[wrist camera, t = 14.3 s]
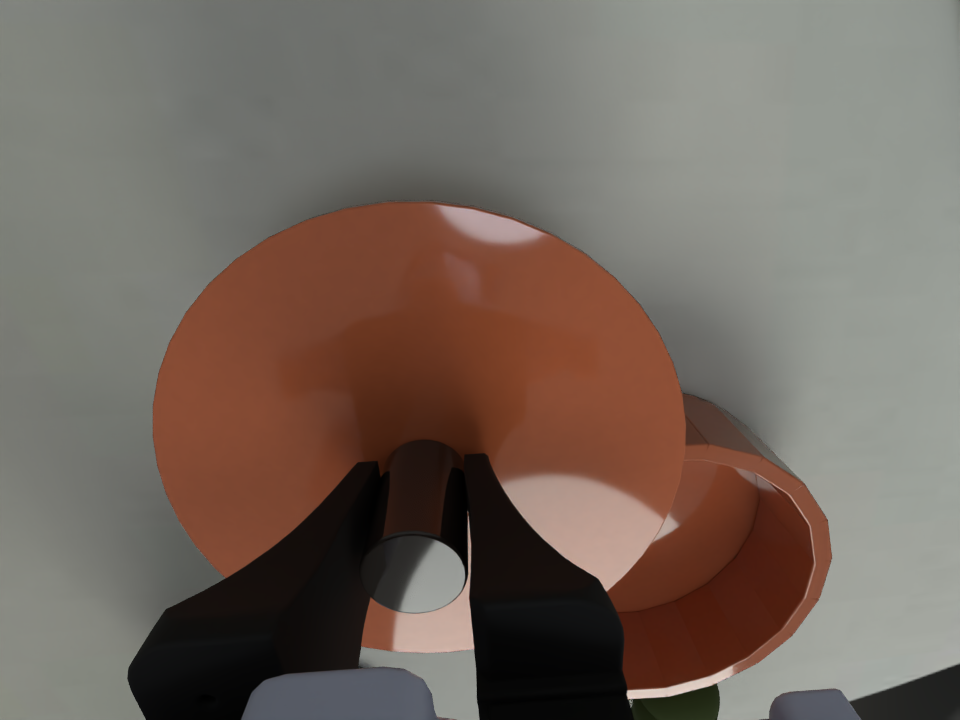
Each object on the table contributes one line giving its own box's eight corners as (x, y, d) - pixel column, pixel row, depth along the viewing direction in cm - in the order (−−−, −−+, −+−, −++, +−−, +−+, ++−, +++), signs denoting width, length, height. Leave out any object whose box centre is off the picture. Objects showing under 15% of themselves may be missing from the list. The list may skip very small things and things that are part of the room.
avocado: (685, 706, 34) (729, 792, 30) (614, 721, 33) (649, 811, 29) (699, 620, 31) (751, 702, 26) (621, 634, 30) (661, 720, 26)
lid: (102, 517, 17) (-34, 656, 12) (311, 61, 12) (214, 8, 7) (494, 679, 21) (503, 832, 16) (778, 386, 16) (909, 486, 11)
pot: (432, 549, 28) (425, 628, 23) (606, 331, 23) (641, 377, 18) (640, 648, 31) (670, 734, 27) (829, 479, 26) (903, 547, 22)
